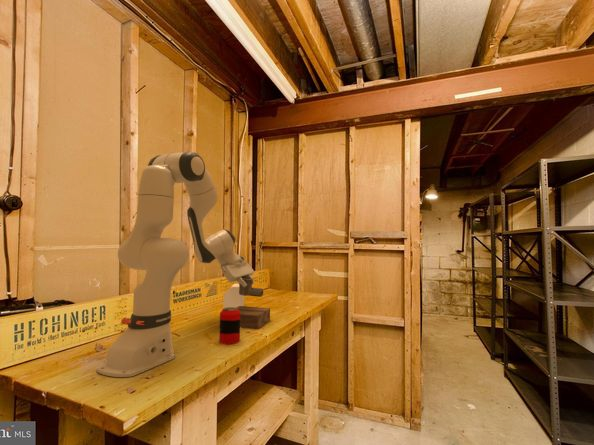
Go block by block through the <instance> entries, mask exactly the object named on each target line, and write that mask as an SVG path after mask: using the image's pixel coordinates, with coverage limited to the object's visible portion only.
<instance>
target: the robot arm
mask: <svg viewBox="0 0 594 445" xmlns="http://www.w3.org/2000/svg"><path fill="white" fill-rule="evenodd" d="M181 183H184V186H185V188H186V191H187V194H188V197H189V206H188V207H189V208H188V209H187V211H186V216H187V221H188V225H189V230H190V234H191V238H192V242H193V249H194V255H195V257H196V258H197V260H198V261H199V262H200V263H204V264H211V263H212V262H213V261H215V260H217V262H218V264H219V266H220V269H221V272H222V274H223V275H224V277H225V279H226V281H228V282H230V283H235V282H237V284H239V283H240V284H241V285H242V286H243V287H246V286H247V285H248V284H247V282H245V281H243V280H242V277H249V278H252V279H253V277H252V276H253V275H254V274H255V270H254V269H253V268H252V266H251V265H250V263H248V262H247V261H246V258H245V256H242V255H239V254H237V253H236V252H235V251H234V250H233V248H234V246H235V244H236V237H235V236H234V234H233V233H232V232H231V231H230V230H228V229H221V230H219V231H217V232H215V233H213V234H211V235H209V236H208V237H207V238H205V234H204V230H203V222H204V219H205V218H206V216H208V215H209V213H210V212H211V211H212V210H213V209H214V207H215V206H216V205H217V202H218V198H219V196H218V191H217V188H216V186H215V183H214V181H213V179H212V176H211V174H210V171H208V169H207V167H206V165H205V162H204V160H203V158H202V157H201V155H199V154H198V153H196V152H193V151H185V152H170V153H165V154H159V155H156V156H154V157H152V158H151V159H150V160H149V162H148V164H147V166H146V167H145V168H144V169H143V170H142V172H141V176H140V180H139V185H138V190H137V191H138V194H137V208H136V218H135V222H134V224H133V228H132V231H131V232H130V234H129V236H128V237H127V239H125V241H123V242H122V243H121V244H120V246H119V248H118V251H117V258H118V261H119V262H120V264H121V265H123V266H124V267H127V268H130V269H133V270H138V271H141V270H142V271H146V273H145V276H144V278H143V281H142V282H141V283H140V284H139V285H137V286H136V287H135V288H134V290H133V302H132V303H133V304H132V305H133V306H132V313H131V315H130V318H129V317H122V319H121V320H120V323H121V324H122V325H126V326H127V328H125V330H124V331H122V334H120V335H119V336H118V338H117V339H116V340H115V341H114V342H113V343H111V345H110V346H109V347H108V350H107V353H106V360H105V361H104V362H102V363H100V364H99V365H97V366H96V372H97V373H98V374H100V375H103V376H108V377H115V378H129V377H134V376H137V375H139V374H140V373H143V372H146V371H148V370H151V369H152V368H155V367H158V366H160V365H162V364H165V363H167V362H169V361H172V360H174V359H175V358H176V354H175V350H174V347H173V346H174V345H173V334H172V328H171V324H170V323H171V321H172V311H171V296H172V295H171V293H172V292H171V290H172V286H173V283H174V280H175V278H176V276H177V274H178V273H179V272H180V271H181V270H182V269H183V268H184V267H185V266H186V265H187V263H188V261H189V258H190V251H189V247H188V246H187V244H186V242H184V241H182V240H179V239H175V238H171V237H162V234H163V232H164V230H165V228H166V227H167V226H169V225H170V224H171V223H172V221H173V219H174V206H175V204H174V203H175V199H174V198H175V188H174V186H175V184H181ZM254 284H255V280H253V282H252V285H254Z"/></svg>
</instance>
